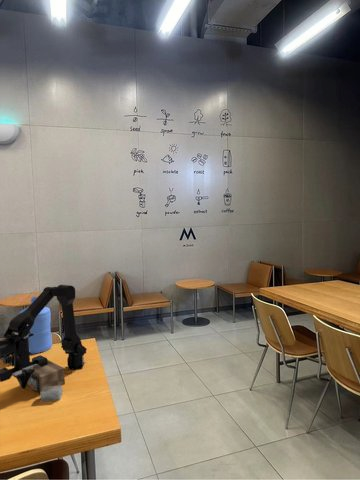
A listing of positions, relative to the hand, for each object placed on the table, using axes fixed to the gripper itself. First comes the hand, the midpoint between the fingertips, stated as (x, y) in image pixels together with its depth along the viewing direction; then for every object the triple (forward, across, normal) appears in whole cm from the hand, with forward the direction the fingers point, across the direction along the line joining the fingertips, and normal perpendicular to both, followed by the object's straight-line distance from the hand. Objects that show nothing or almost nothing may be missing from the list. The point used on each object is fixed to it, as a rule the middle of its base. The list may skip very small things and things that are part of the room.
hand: (23, 388), depth 131 cm
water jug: (+3, -28, -42) cm, 51 cm away
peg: (+2, -8, 0) cm, 8 cm away
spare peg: (+3, -6, +11) cm, 13 cm away
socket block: (+3, -10, -2) cm, 11 cm away
